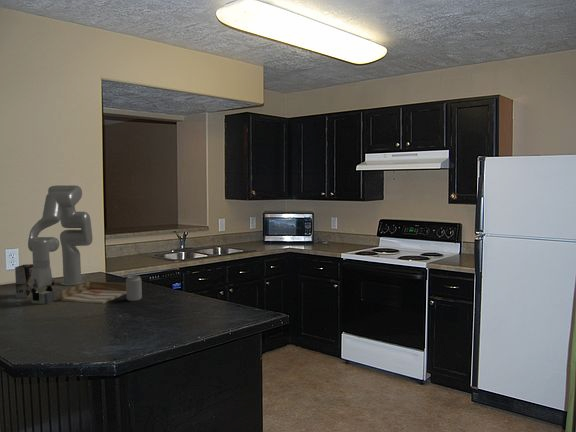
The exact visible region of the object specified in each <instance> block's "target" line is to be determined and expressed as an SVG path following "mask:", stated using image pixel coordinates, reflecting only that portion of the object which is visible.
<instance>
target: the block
mask: <svg viewBox="0 0 576 432" xmlns="http://www.w3.org/2000/svg"><path fill="white" fill-rule="evenodd" d="M38 293H39V301H33V296H32V293H31V304H39V305H40V304H42V305H49V304H52V303H54V302H55V291H54V290H52V291H46V290H38Z"/></svg>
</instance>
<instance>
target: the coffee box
mask: <svg viewBox="0 0 576 432" xmlns="http://www.w3.org/2000/svg"><path fill="white" fill-rule="evenodd" d="M14 268H15V269H14V271H15V274H14V275H15V297H16V298H17V299H19V298H20V299H22V298H23V299H24V298H25V299H28V298H30V297H31V293H32V292H31V291H30V288H29V284H30V283H31V272H32V268H33V263H32V264H30V263H28V264H22V265H18V266H16V267H14ZM36 289H37V288H35V290H36Z"/></svg>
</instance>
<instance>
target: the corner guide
mask: <svg viewBox="0 0 576 432" xmlns="http://www.w3.org/2000/svg"><path fill="white" fill-rule="evenodd" d="M59 295H60V301H61V302H69V303H70V302H72V303H73V302H74V303H87V304H89V303H90V304H106V303H107V302H110V301H112V300H115V299H117V298H120V297H122V296H124V295H126V282H110V281H108V282H105V281H87V282H84V283H82V284H79V285H73V286H72V287H69V288H66V289H62V290H60V294H59Z"/></svg>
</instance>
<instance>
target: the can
mask: <svg viewBox="0 0 576 432" xmlns="http://www.w3.org/2000/svg"><path fill="white" fill-rule="evenodd" d="M125 283H126V294H125V295H126V297H125V298H126V300H127V301H128V302H138V301H141V299H142V298H143V292H142V289H143V288H142V285H143V284H142V277H141V276H140V275H128V276H127V277H126V279H125Z"/></svg>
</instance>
